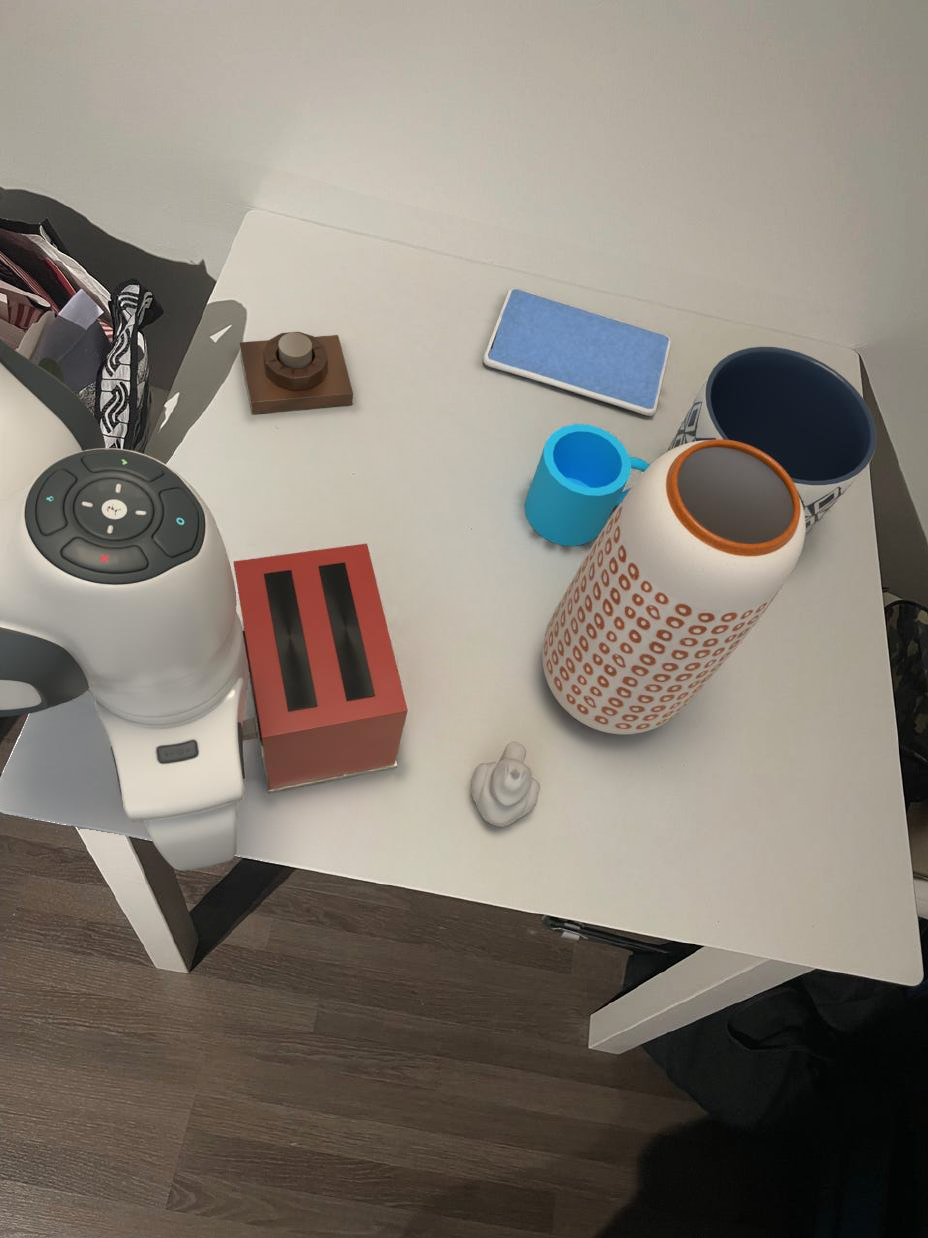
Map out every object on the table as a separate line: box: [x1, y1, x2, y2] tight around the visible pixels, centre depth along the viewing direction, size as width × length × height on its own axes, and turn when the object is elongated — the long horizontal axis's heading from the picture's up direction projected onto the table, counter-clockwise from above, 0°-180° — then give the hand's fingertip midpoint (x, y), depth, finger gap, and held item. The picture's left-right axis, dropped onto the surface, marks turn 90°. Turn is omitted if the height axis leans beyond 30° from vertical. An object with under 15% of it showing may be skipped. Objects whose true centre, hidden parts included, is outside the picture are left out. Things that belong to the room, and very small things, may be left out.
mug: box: [524, 423, 651, 547], centre depth 82 cm, size 12×8×8 cm
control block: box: [239, 331, 354, 415], centre depth 87 cm, size 10×8×4 cm
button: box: [278, 333, 312, 369], centre depth 85 cm, size 3×3×2 cm
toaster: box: [233, 543, 408, 794], centre depth 67 cm, size 10×14×12 cm
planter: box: [665, 346, 877, 537], centre depth 82 cm, size 16×16×14 cm
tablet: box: [482, 287, 672, 417], centre depth 95 cm, size 19×13×1 cm, turn 74°
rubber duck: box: [470, 741, 541, 827], centre depth 67 cm, size 5×7×8 cm
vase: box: [541, 440, 806, 735], centre depth 65 cm, size 13×13×28 cm
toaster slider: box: [242, 717, 258, 742], centre depth 62 cm, size 5×2×3 cm, turn 105°
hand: (198, 745), depth 63 cm, fingers open, 8 cm apart
